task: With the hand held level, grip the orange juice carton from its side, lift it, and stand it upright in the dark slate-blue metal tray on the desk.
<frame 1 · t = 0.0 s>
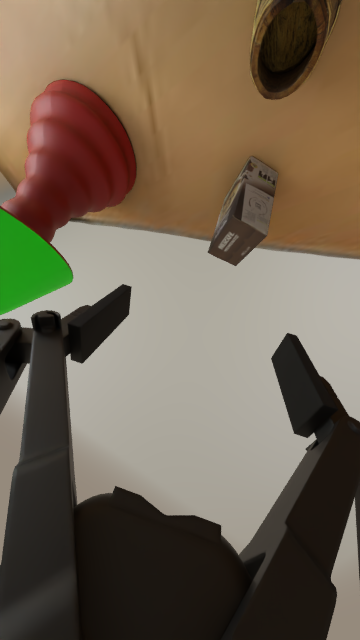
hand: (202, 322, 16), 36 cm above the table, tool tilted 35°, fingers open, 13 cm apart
coffee box: (249, 186, 39), on the table
table lamp: (93, 149, 42), on the table
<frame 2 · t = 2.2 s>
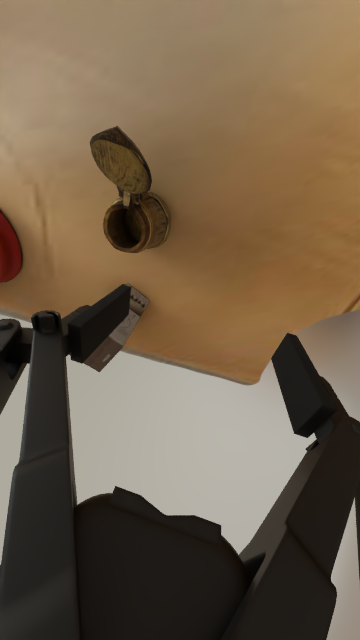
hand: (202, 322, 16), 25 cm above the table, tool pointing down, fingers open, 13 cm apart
coffee box: (128, 304, 45), on the table
wooden mug: (150, 208, 34), on the table
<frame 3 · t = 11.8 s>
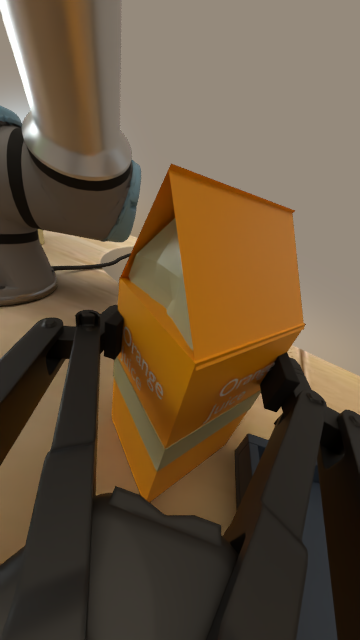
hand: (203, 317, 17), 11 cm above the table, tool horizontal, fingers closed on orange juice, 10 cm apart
orange juice: (167, 432, 19), on the table, touching gripper
when the fingers open (12 cm above the table, at t = 20.1 s): orange juice stays where it is, resting on tray.
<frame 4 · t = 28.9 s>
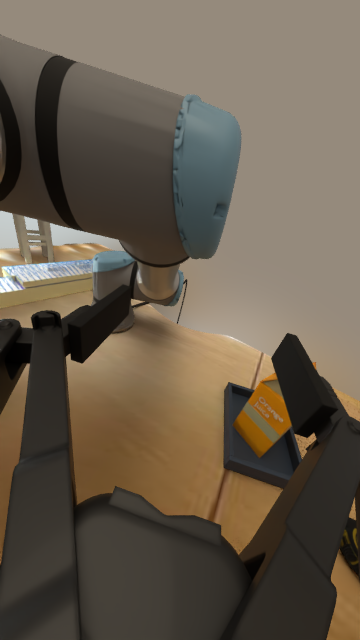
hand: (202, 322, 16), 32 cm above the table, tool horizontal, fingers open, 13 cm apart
pale yellow long box: (49, 289, 76), on the table
tape measure: (351, 546, 31), on the table
orange juice: (256, 431, 43), point 1 cm above the table, touching tray
tray: (255, 432, 44), on the table
stool: (38, 259, 97), on the table
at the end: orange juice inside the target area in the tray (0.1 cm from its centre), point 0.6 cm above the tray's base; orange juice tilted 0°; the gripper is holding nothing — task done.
